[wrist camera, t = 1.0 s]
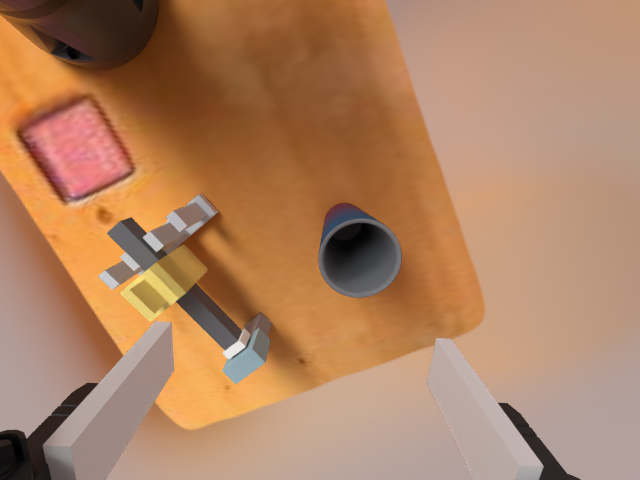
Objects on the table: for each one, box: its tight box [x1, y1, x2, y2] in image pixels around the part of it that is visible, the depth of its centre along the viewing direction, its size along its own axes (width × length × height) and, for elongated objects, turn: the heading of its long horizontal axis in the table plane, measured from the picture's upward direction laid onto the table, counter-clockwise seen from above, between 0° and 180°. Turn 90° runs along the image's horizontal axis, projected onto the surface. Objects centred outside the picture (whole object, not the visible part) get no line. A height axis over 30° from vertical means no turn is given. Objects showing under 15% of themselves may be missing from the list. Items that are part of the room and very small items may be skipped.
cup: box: [318, 203, 402, 298], centre depth 33 cm, size 7×7×15 cm
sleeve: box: [120, 244, 208, 322], centre depth 32 cm, size 4×5×9 cm
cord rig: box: [98, 194, 272, 384], centre depth 37 cm, size 21×13×9 cm, turn 39°
